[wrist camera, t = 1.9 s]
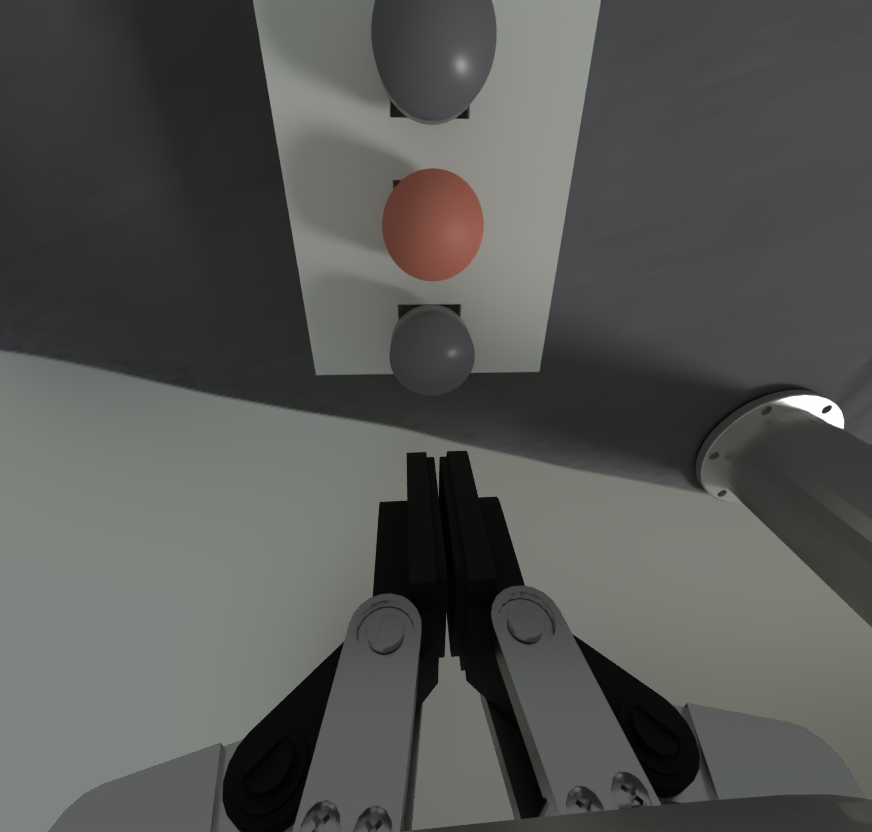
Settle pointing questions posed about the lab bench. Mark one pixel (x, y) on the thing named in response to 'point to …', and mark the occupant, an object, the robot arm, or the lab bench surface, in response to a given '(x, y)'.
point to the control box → (416, 150)
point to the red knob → (432, 224)
